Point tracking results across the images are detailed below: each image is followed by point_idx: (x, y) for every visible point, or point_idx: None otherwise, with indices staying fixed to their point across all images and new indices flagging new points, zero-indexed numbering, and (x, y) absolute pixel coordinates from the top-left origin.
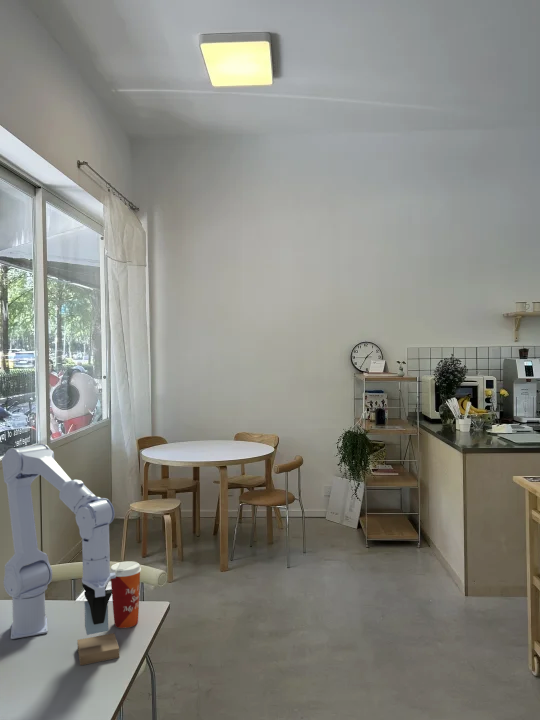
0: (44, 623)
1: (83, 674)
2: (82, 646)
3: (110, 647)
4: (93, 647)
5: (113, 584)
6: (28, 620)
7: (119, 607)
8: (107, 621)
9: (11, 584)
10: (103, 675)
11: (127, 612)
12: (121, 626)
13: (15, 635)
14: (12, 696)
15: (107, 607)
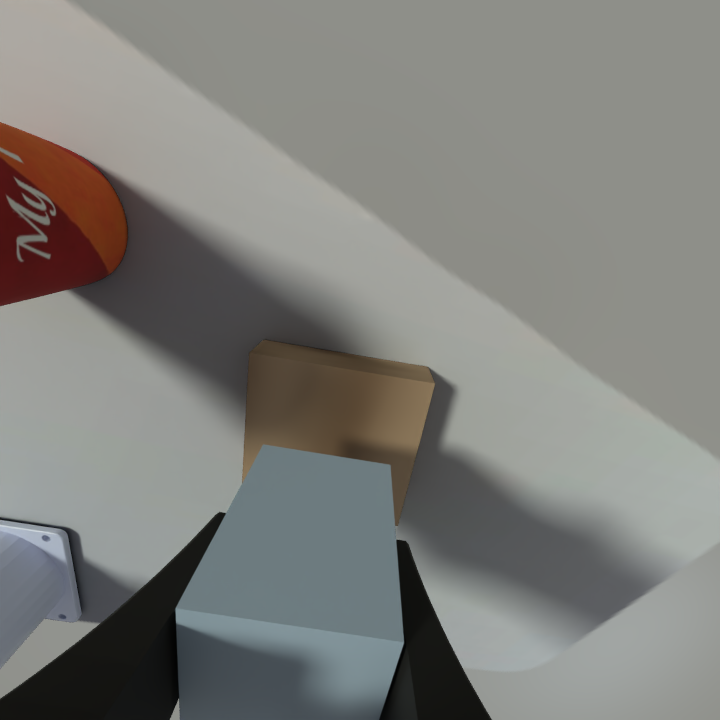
0: (1, 547)
1: (466, 503)
2: None
3: (401, 413)
4: None
5: None
6: (15, 637)
7: (13, 287)
8: (392, 513)
9: None
10: (524, 454)
11: (58, 230)
12: (115, 263)
13: (63, 611)
14: None
15: (399, 619)
